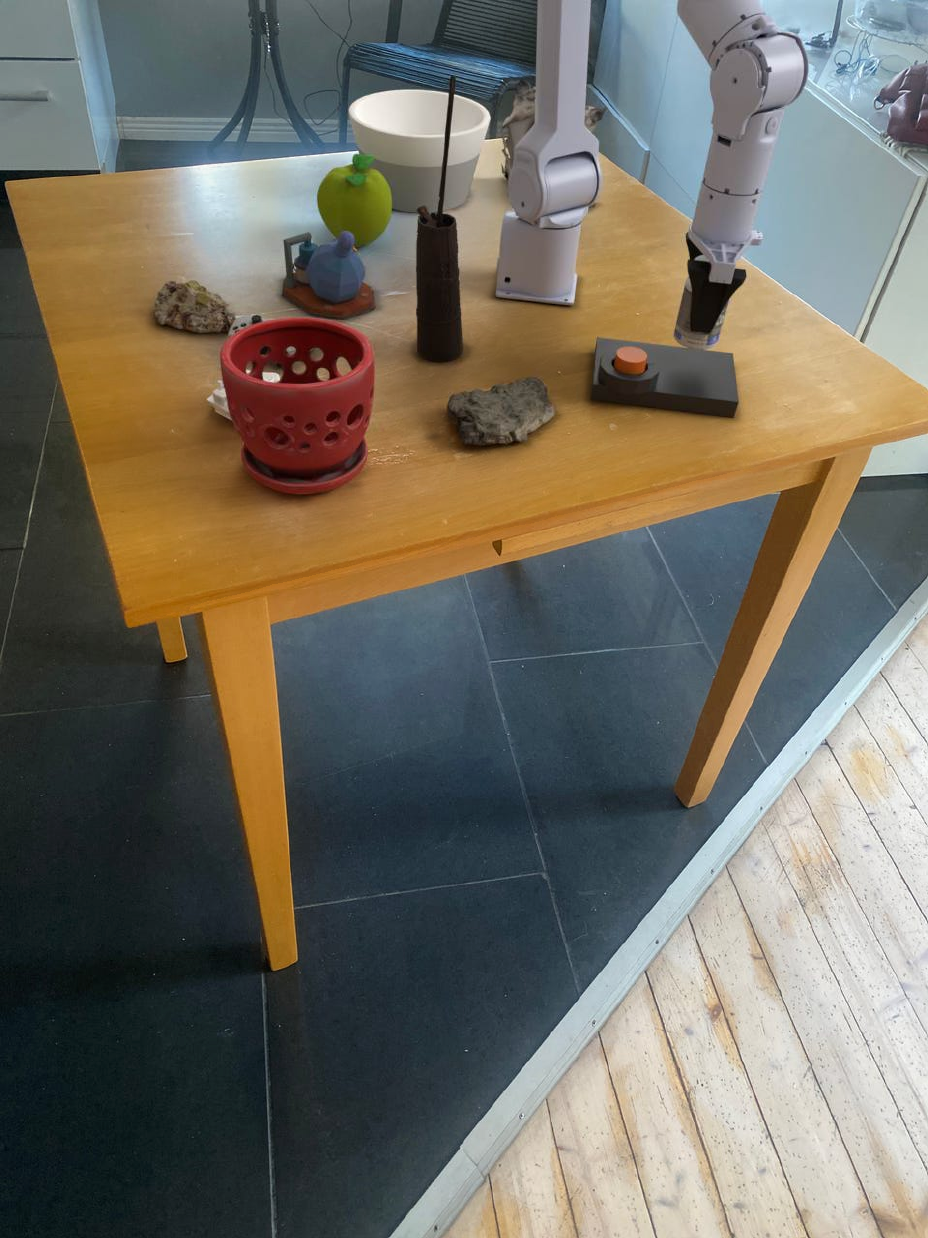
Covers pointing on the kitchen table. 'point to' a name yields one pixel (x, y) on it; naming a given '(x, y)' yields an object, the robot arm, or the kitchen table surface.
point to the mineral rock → (192, 308)
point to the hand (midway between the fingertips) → (699, 318)
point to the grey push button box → (667, 379)
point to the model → (327, 278)
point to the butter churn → (438, 273)
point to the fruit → (355, 201)
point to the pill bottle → (683, 322)
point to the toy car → (219, 395)
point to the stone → (500, 412)
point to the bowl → (420, 144)
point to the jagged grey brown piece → (532, 121)
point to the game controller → (250, 320)
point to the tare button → (630, 360)
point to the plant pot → (300, 403)
